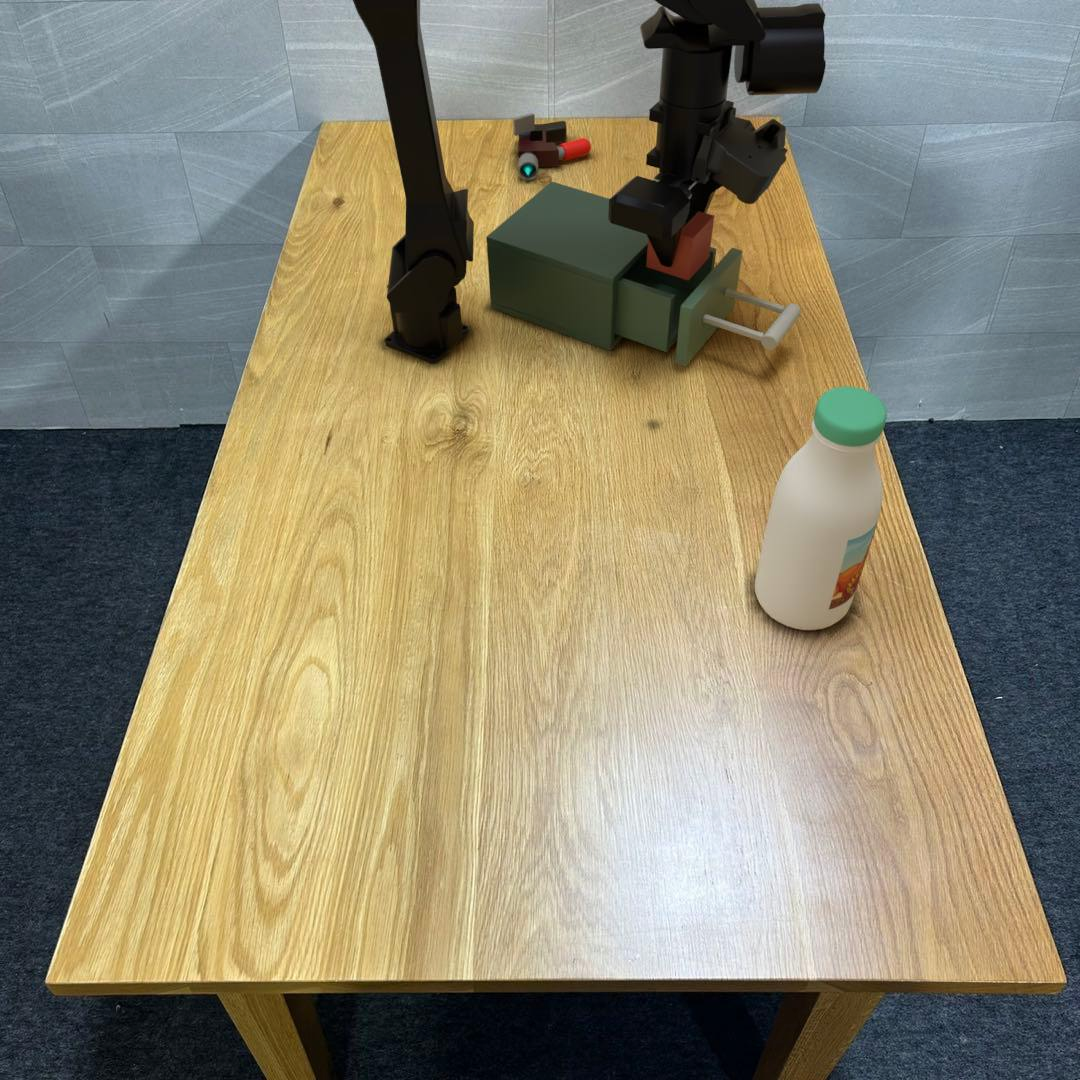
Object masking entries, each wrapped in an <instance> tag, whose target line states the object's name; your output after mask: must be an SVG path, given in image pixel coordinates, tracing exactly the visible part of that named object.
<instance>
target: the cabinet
mask: <svg viewBox="0 0 1080 1080" xmlns="http://www.w3.org/2000/svg"><path fill="white" fill-rule="evenodd" d="M609 199H610V198H609V197H605V196H603V195H602V196H601V195H599V194H596V193H593V192H592V193H591V192H589V191H585V190H583V189H579V188H576V187H572V186H568V185H566V184H562V183H559V182H555V181H550V182H549V183H548V184H546V185H545V186H544V187H543V188H542V189H541V190H539V191H538V192H537V193H536V194H535V195H533V196H532V197H531V198H529V200H528V201H526V203H524V204H523V205H522V206H520V207H519V208H518V209H517V210H516V211H514V213H513V214H511V215H510V216H509V217H508V218H507V219H505V220H503V222H502V223H501V224H499V226H497V227H496V228H495V229H494V230H492V231H491V232H490V233H488V235H486V237H485V238H486V239H485V240H486V253H487V270H488V285H489V286H488V287H489V300H490V301H489V302H490V308H491V309H493V310H495V311H499V312H501V313H504V314H507V315H509V316H512V317H515V318H518V319H521V320H523V321H526V322H529V323H531V324H533V325H534V324H535V325H537V326H540V327H543V328H546V329H548V330H551V331H554V332H556V333H559V334H562V335H565V336H567V337H570V338H573V339H574V340H575V339H576V340H579V341H581V342H584V343H587V344H590V345H591V346H595V347H598V348H601V349H603V350H606V351H609V352H611V351H612V350H613V349H614V348H615V346H617V344H618V343H619V342H620V341H621V340H622V339H623V338H624V337H622V336H619V335H617V334H614V330H615V307H616V284H617V283H616V282H617V281H618V280H619V279H620V278H621V277H622V276H623V275H624V274H625V273H626V272H627V271H628V270H629V268H630V267H631V266H632V265H633V264H634V263H635V262H636V261H637V260H638V259H639V258H640V257H641V256H642V255H643V254H644V253H645V252H646V251H647V250H648V236H647V234H644V233H641V232H638V231H634V230H631V229H628V228H625V227H621V226H618V225H615V224H612V223H610V221H609V219H608V213H609Z"/></svg>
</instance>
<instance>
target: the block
mask: <svg viewBox="0 0 1080 1080" xmlns="http://www.w3.org/2000/svg"><path fill="white" fill-rule="evenodd" d="M714 222H715V215H713V214H710V213H708V212H707V213H704V212H700V211H699V213H698V214H697V215H696V216H695V217H694V218H693V219H692V220H691V221H690V222H689V223H688V224H687V225H686V226H685V227H683V228H682V231H681V235H680V239H679V243H678V247H677V251H676V255H675V258H674V261H673V265H672V266H671V267H666V266H663V265H661V264H660V262H659V260H658V258H657V255H656V253H655V251H654V249H653V247H652V245H651V243H650V241H649V238H648V250H647V265H646V267H648V268H651V269H654V270H657V271H661V272H664V273H667V274H670V275H673V276H676V277H679V278H682V279H685V280H690V278H691V277H692V276H693V275H694V274H695V273H696V272H697V271H698V270H699V268H700V267H701V266H702V265H703V264H704V263H705V262H706V261H707V259H708V258H709V256H710V247H712V240H713V239H712V238H713V231H714V230H713V229H714Z"/></svg>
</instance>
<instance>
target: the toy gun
mask: <svg viewBox="0 0 1080 1080" xmlns="http://www.w3.org/2000/svg"><path fill="white" fill-rule="evenodd" d="M535 117H536V116H535V114H534V113H528V114H524V115H523V114H522V115H520V116H517V117H513V118H512V125H513V135H514V136H515V137H518V162H517V173H518V176H519V177H520V178H521V179H522V180H524V181H533V180H534V179H536V178H537V177H538V175H539V168H540V167H560V160H562V161H564V162H565V161H570V160H573V159H574V160H575V159H577V158H581V157H584V156H587V155H589V154H590V152H591V150H592V144H591V142H590V140H589V139H588V138H586V137H582V138H578V139H573V140H570V141H566V140H567V138H568V137H567V136H568V135H567V131H568V130H567V129H568V128H567V122H566V121H565V120H560V121H553V122H547V123H535V122H536V120H535ZM557 143H560V144H559V146H557Z"/></svg>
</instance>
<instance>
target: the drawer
mask: <svg viewBox="0 0 1080 1080" xmlns="http://www.w3.org/2000/svg"><path fill="white" fill-rule="evenodd" d="M716 256H717V248H715V247H713V246H711V247H710V256H709V258H708V259H707V261H706V262H705V263H704V264H703V265H702V266H701V267H700V268H699V270H698V271H697V272H696V273H695V274H694V275H693V276H692V277H691V278H690V280H685V279H682V278H679V277H676V276H673V275H670V274H667V273H664V272H661V271H657V270H654V269H651V268H648V267H646V265H647V251H646V252H645V253H644V254H643V255H642V256H641V257H640V258H639V259H638V260H637V261H636V262H635V263H634V264H633V265H632V266H631V267H630V268H629V270H628V271H627V272H626V273H625V274H624V275H623V276H622V277H621V278H620V279H619V280H618V281H617V282H616V283H617V284H616V307H615V330H614V334H617V335H619V336H622V337H623V338H625V339H628V340H631V341H634V342H635V343H639V344H643V345H645V346H648V347H650V348H654V349H656V350H659V351H662V352H665V353H667V352H668V351H669V350H670V349H671V347H673V345H674V344H675V343H676V342H677V343H676V350H675V358H674V359H675V360H674V363H675V364H677V365H680V366H684V367H687V365H688V364H689V363H690V362H691V361H692V359H693V358H694V357H695V356H696V354H697V353H698V352H699V351H700V350H701V348H702V347H703V346H704V345H705V344H706V343H707V341H708V340H709V339H710V338H711V336H713V334H714V332H716V330H717V329H718V328H720V329H723V330H726V331H728V332H732V333H735V334H738V335H741V336H743V337H747V338H750V339H753V340H755V341H759V342H760V343H761V346H762V347H763V348H764V349H765V350H768V351H773V350H775V349H777V347H778V346H779V344H780V343H781V342H782V340H783V339H784V338H785V336H786V335H787V334H788V333H789V331H790V330H791V328H792V327H793V326H794V324H795V323H796V321H798V319H799V317H801V314H802V309H801V307H800V306H799V305H798V304H796V303H788V304H787V305H786V306H784V305H781V304H778V303H775V302H772V301H770V300H769V301H768V300H765V299H763V298H759V297H758V296H753V295H750V294H748V293H744V292H741V291H738V285H739V279H740V273H741V264H742V257H743V249H738V248H734V247H731V248H730V249H729V250H728V252H726V253H725V255H724V256H722V258H721V259H720V261H718V262H717V264H716ZM736 301H739V302H743V303H746V304H749V305H751V306H754V307H757V308H762V309H764V310H766V311H767V310H768V311H770V312H773V313H776V314H779V315H778V316H777V318H776V319H775V321H774V322H773V323H772V324H771V325H770V326H769V328H768V330H766V332H765V333H764V332H761V331H757V330H755V329H752V328H749V327H745V326H743V325H740V324H737V323H734V322H731V321H728V320H726V318H727V317H728V316H729V314H731V312H732V311H733V310H734V308H735V306H736Z"/></svg>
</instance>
